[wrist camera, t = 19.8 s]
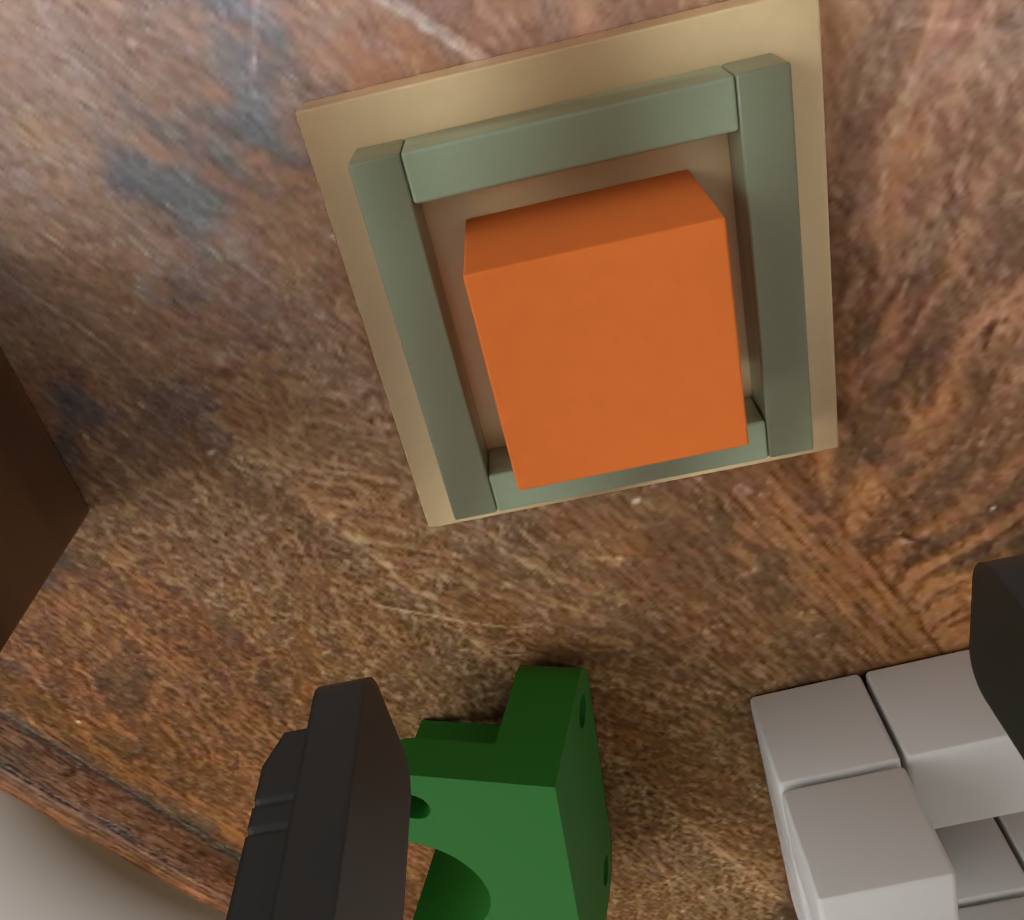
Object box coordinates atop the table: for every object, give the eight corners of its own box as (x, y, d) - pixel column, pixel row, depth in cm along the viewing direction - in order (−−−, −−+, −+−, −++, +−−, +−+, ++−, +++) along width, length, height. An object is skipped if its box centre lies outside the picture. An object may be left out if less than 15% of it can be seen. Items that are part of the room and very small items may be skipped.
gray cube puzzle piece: (1088, 837, 38) (1221, 1044, 31) (790, 895, 39) (855, 1105, 32) (1099, 617, 32) (1268, 814, 25) (748, 695, 33) (817, 902, 26)
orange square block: (513, 412, 26) (518, 492, 22) (464, 219, 23) (462, 275, 20) (713, 371, 25) (749, 445, 22) (688, 168, 22) (726, 217, 19)
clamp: (451, 618, 37) (355, 715, 28) (604, 624, 35) (552, 728, 26) (468, 901, 38) (382, 1075, 30) (613, 919, 37) (568, 1107, 28)
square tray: (430, 506, 29) (426, 559, 26) (302, 102, 23) (282, 126, 20) (826, 427, 28) (857, 476, 25) (803, -18, 22) (842, -8, 19)
